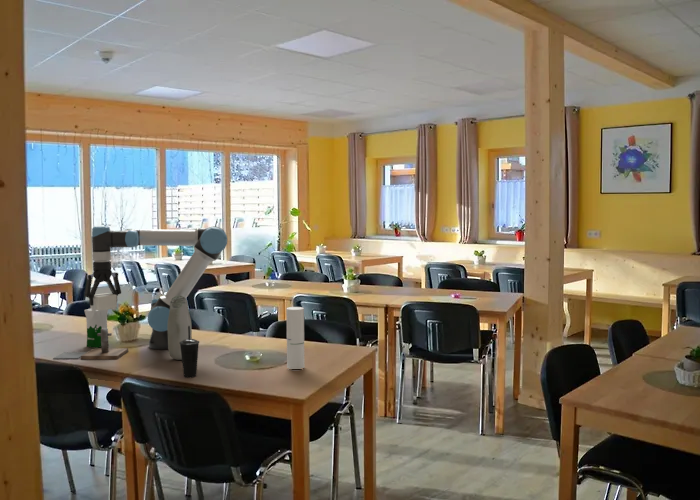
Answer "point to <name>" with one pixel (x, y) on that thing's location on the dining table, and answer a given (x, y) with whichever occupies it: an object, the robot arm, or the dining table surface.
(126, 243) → the robot arm
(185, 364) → the drinking cup
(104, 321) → the milk carton
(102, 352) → the post stand
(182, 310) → the grey bottle
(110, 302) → the white drawer box
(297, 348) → the cylindrical container
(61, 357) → the mat
